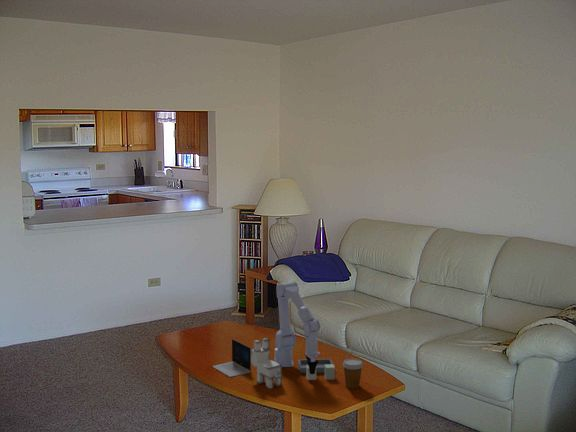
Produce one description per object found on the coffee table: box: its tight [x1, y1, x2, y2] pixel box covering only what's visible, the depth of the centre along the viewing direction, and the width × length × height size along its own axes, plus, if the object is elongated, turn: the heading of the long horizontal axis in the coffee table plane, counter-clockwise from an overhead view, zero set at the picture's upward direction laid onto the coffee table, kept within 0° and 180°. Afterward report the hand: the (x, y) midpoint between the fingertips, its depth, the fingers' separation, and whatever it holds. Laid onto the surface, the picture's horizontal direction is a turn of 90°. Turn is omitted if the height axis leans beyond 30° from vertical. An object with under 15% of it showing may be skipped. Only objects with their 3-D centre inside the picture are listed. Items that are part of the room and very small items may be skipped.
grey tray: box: [297, 358, 333, 375], centre depth 334 cm, size 17×12×3 cm
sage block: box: [323, 364, 336, 380], centre depth 322 cm, size 4×4×6 cm
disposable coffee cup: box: [342, 358, 364, 390], centre depth 311 cm, size 10×10×12 cm
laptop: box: [211, 338, 252, 378], centre depth 333 cm, size 18×12×13 cm
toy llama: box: [251, 337, 283, 390], centre depth 315 cm, size 8×18×20 cm, turn 37°
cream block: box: [305, 365, 317, 381], centre depth 322 cm, size 4×4×6 cm
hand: (311, 371), depth 322 cm, fingers open, 7 cm apart
